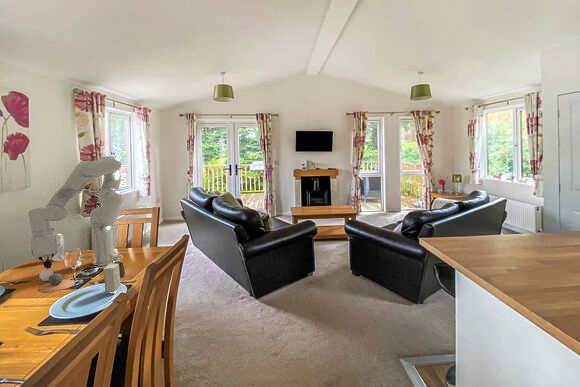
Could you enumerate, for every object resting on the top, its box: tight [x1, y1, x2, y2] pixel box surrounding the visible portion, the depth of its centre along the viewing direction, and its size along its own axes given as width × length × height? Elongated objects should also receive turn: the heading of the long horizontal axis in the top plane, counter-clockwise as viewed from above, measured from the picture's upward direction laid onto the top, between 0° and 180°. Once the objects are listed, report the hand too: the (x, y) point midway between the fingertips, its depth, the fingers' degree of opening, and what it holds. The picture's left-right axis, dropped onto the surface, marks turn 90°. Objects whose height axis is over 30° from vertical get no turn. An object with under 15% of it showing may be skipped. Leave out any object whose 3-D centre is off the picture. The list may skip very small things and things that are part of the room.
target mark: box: [38, 279, 76, 293], centre depth 158 cm, size 14×14×1 cm
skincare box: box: [103, 263, 122, 294], centre depth 150 cm, size 6×4×12 cm
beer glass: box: [51, 232, 65, 262], centre depth 196 cm, size 7×7×15 cm
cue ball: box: [39, 269, 54, 282], centre depth 165 cm, size 6×6×6 cm
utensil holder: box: [109, 254, 126, 279], centre depth 168 cm, size 6×6×12 cm
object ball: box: [48, 272, 64, 285], centre depth 160 cm, size 6×6×6 cm
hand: (48, 267), depth 170 cm, fingers closed
